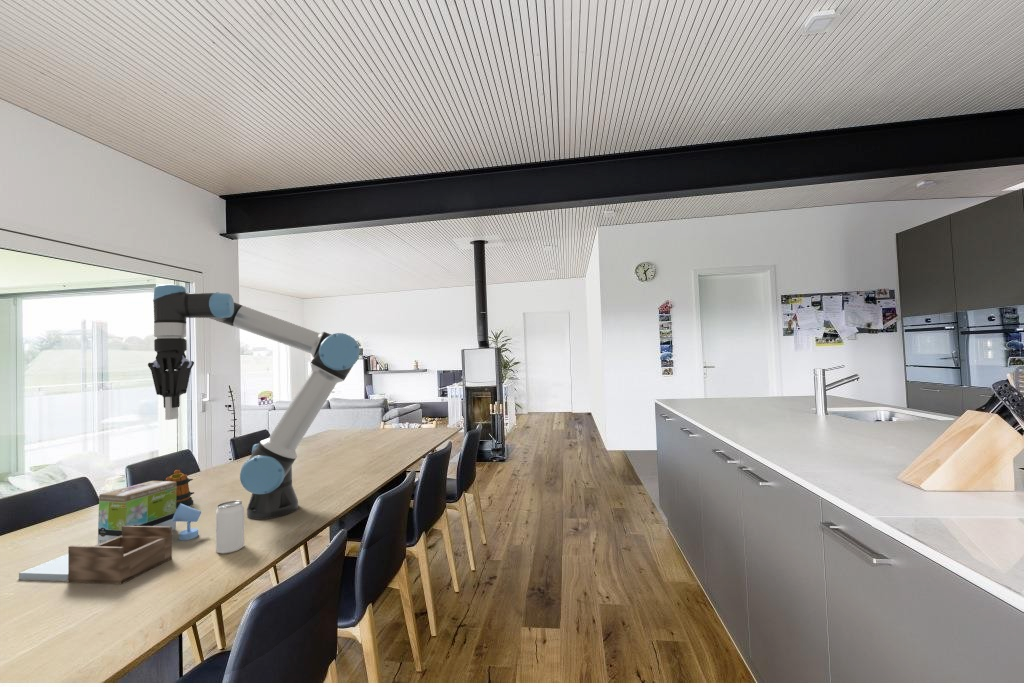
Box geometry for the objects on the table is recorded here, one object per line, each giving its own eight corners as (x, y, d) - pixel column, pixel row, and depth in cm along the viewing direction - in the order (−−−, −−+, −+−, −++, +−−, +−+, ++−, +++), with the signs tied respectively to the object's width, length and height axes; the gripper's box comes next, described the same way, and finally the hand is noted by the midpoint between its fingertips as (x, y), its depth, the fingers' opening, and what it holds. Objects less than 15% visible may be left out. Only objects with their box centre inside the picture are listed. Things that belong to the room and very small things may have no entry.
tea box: (126, 550, 122) (125, 495, 122) (96, 548, 124) (96, 494, 124) (177, 529, 136) (177, 480, 137) (150, 527, 138) (150, 479, 139)
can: (250, 545, 122) (249, 501, 122) (227, 555, 116) (227, 508, 116) (232, 543, 124) (232, 499, 124) (209, 552, 118) (209, 506, 118)
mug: (194, 506, 158) (194, 473, 158) (157, 513, 152) (157, 478, 152) (194, 497, 168) (194, 467, 169) (159, 503, 162) (159, 471, 163)
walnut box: (171, 558, 115) (171, 526, 115) (121, 584, 102) (121, 548, 102) (124, 557, 117) (124, 525, 117) (68, 582, 104) (68, 546, 104)
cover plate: (115, 561, 116) (115, 553, 116) (67, 583, 105) (67, 574, 105) (70, 560, 117) (70, 552, 117) (18, 581, 106) (18, 572, 106)
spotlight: (171, 543, 125) (201, 536, 129) (171, 507, 125) (201, 502, 130) (172, 538, 129) (201, 531, 133) (171, 503, 129) (200, 498, 134)
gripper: (201, 337, 134) (202, 416, 133) (162, 339, 135) (163, 417, 135) (179, 336, 126) (181, 420, 126) (138, 338, 128) (139, 421, 127)
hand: (171, 418), depth 130 cm, fingers closed
